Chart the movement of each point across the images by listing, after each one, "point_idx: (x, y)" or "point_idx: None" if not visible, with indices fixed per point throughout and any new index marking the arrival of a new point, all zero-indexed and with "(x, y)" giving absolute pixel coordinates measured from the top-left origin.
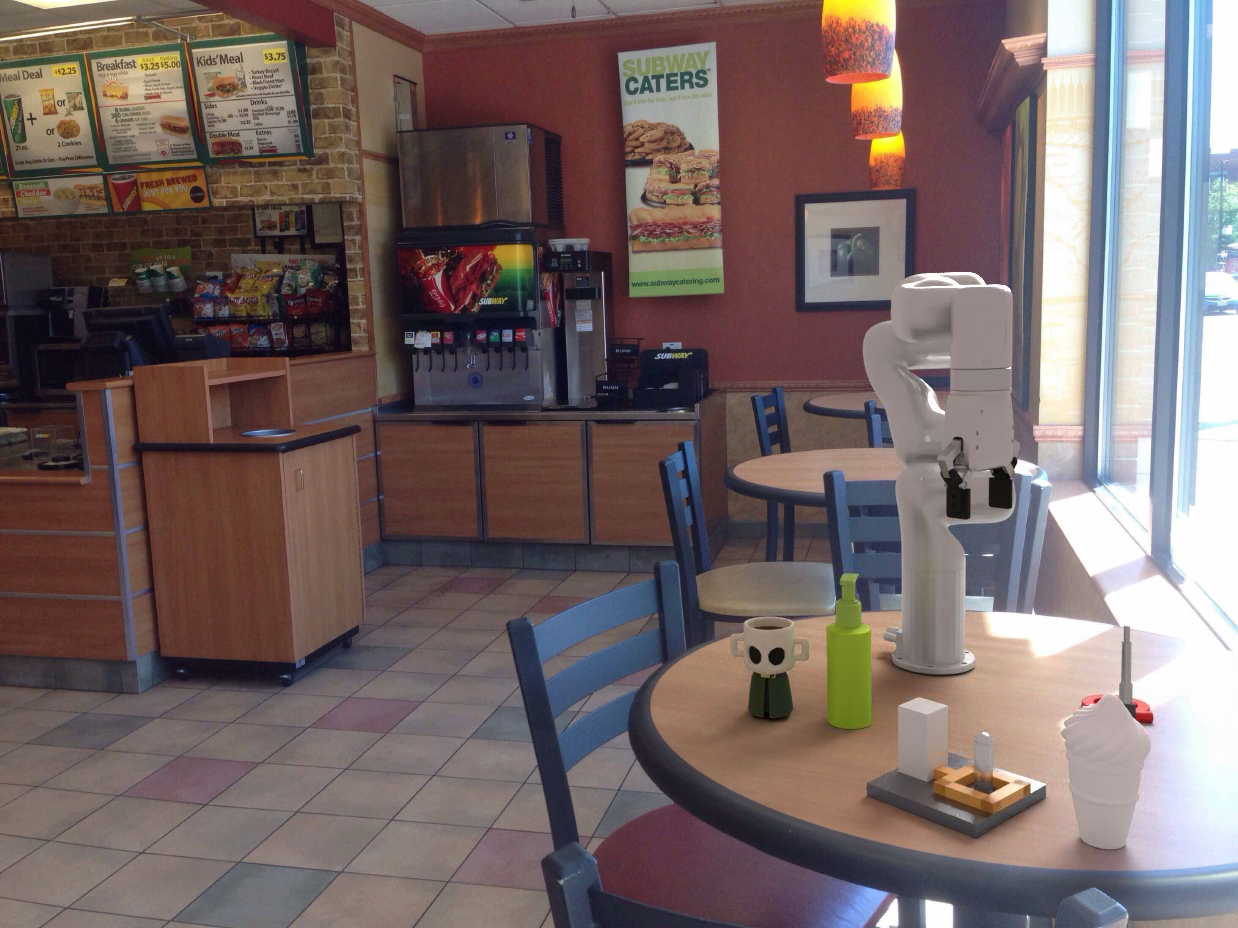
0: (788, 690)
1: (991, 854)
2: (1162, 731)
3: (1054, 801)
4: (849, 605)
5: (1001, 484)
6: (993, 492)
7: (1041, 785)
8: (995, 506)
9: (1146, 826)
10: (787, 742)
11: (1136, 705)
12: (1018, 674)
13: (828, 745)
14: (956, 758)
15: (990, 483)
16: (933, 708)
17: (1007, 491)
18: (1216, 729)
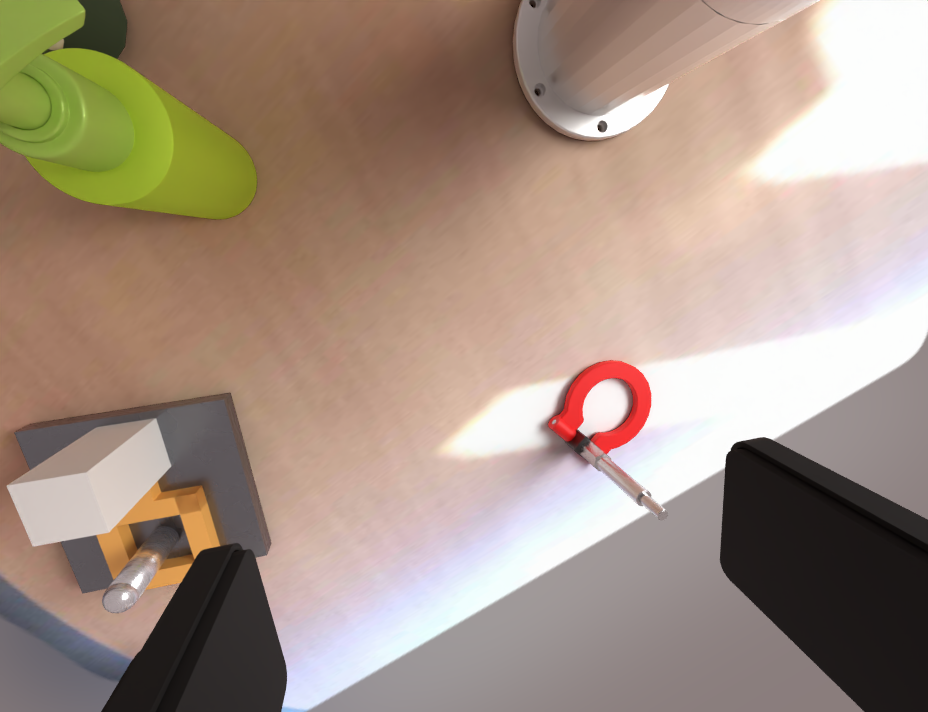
0: (64, 45)
1: (82, 612)
2: (574, 484)
3: (270, 555)
4: (3, 142)
5: (885, 669)
6: (816, 540)
7: (258, 554)
8: (726, 493)
9: (309, 636)
10: (22, 177)
11: (627, 422)
12: (644, 212)
13: (94, 239)
14: (221, 439)
15: (905, 569)
16: (69, 529)
17: (823, 658)
18: (627, 512)
